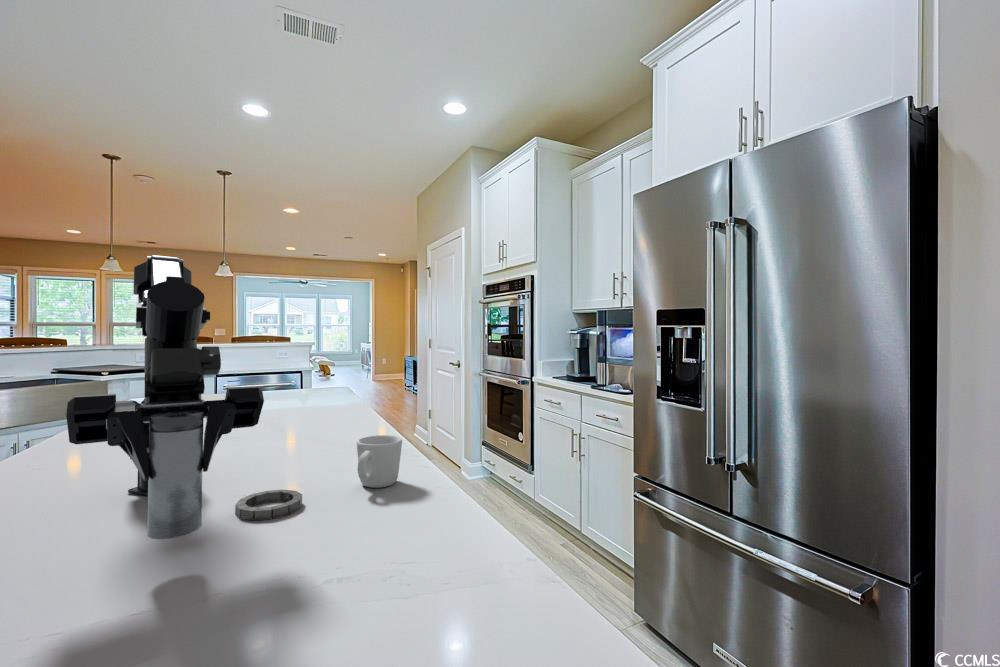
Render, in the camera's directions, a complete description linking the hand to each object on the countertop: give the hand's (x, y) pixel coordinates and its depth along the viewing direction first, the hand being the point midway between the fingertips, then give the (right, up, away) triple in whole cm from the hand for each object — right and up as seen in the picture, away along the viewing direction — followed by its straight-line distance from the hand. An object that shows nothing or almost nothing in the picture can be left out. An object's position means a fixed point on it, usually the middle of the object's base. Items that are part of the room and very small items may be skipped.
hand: (177, 473), depth 50 cm
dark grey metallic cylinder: (-1, -7, +1) cm, 7 cm away
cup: (+14, -12, +30) cm, 35 cm away
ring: (+1, -11, +19) cm, 22 cm away
